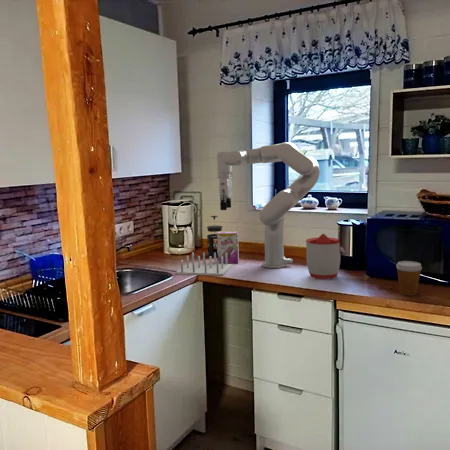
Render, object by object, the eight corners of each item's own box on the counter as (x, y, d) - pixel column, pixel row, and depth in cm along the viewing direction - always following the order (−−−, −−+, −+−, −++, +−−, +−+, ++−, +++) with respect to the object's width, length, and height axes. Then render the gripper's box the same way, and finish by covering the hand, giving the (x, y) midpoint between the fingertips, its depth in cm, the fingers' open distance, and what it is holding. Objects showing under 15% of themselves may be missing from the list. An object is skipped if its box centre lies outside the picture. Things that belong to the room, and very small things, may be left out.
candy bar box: (217, 264, 240) (216, 233, 238) (218, 261, 245) (217, 231, 243) (238, 263, 239) (237, 232, 237) (239, 261, 244) (238, 231, 242)
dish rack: (232, 265, 235) (232, 252, 234) (223, 275, 217) (222, 261, 216) (188, 264, 241) (187, 251, 240) (175, 274, 223) (175, 260, 222)
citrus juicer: (346, 281, 200) (346, 236, 197) (306, 281, 203) (305, 237, 200) (343, 272, 216) (343, 230, 212) (305, 272, 218) (305, 230, 215)
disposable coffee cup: (394, 288, 188) (395, 260, 186) (419, 290, 185) (420, 261, 183) (396, 295, 179) (396, 266, 177) (422, 297, 176) (423, 267, 174)
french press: (211, 253, 265) (210, 214, 262) (227, 254, 262) (225, 214, 258) (203, 258, 255) (201, 217, 251) (219, 259, 251) (217, 217, 248)
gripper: (228, 176, 226) (229, 211, 228) (235, 174, 242) (236, 206, 245) (213, 176, 227) (214, 211, 230) (222, 174, 244) (222, 206, 247)
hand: (225, 208), depth 238 cm, fingers open, 9 cm apart
